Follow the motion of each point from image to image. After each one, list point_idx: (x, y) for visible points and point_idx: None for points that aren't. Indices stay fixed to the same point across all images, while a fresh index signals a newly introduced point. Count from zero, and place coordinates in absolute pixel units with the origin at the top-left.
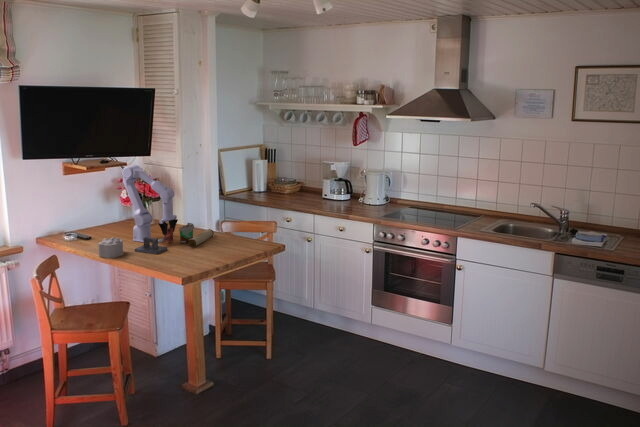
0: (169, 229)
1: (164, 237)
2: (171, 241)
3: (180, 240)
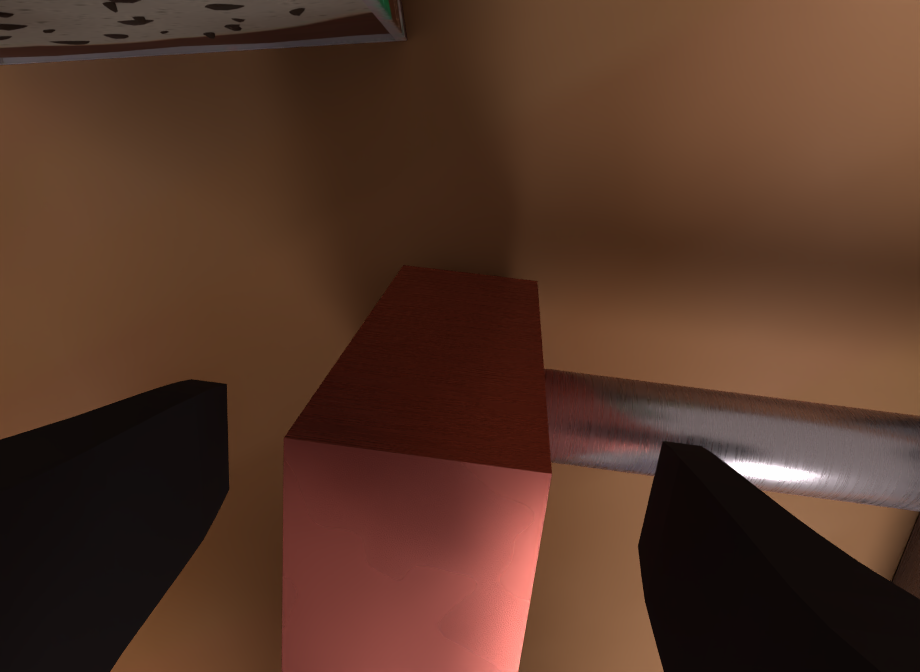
0: (544, 476)
1: None
2: (483, 277)
3: (400, 30)
